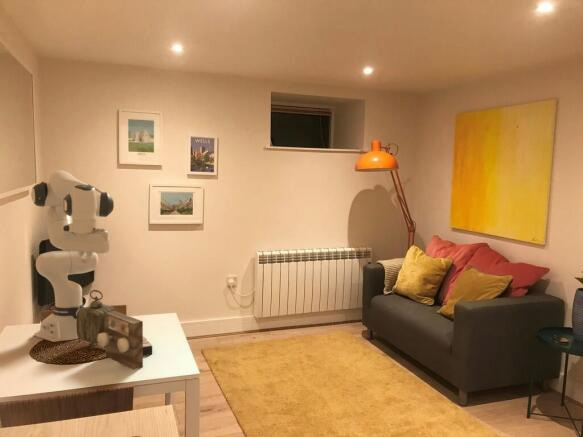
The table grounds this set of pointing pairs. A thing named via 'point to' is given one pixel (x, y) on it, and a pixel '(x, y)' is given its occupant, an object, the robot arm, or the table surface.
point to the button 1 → (103, 339)
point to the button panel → (128, 329)
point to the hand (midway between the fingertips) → (85, 262)
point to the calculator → (146, 347)
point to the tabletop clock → (92, 320)
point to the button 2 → (123, 345)
